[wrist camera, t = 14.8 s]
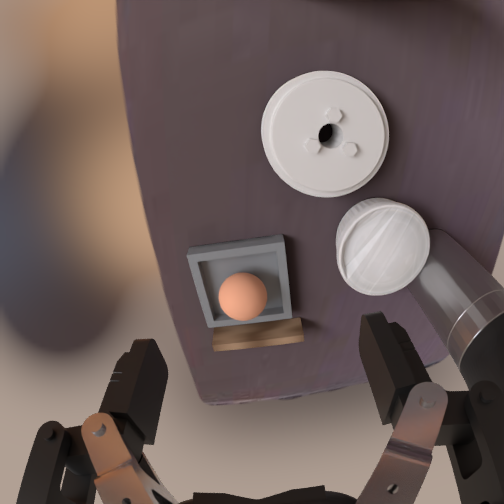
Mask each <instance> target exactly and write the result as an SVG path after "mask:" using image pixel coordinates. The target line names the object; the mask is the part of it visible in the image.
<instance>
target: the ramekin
mask: <svg viewBox="0 0 504 504" xmlns="http://www.w3.org/2000/svg"><path fill="white" fill-rule="evenodd" d="M336 248H337V263H338V267H339V270H340V273H341V275H342V277H343V278H344V280H345V281H346V282H347V284H348V285H350V286H351V287H352V288H353V289H355V290H356V291H358V292H360V293H363V294H367V295H386V294H390V293H393V292H395V291H398V290H400V289H402V288H403V287H405V286H406V285H408V284H409V283H410V282H411V281H412V280H413V279H414V278H415V277H416V276H417V275H418V274H419V272H420V271H421V270H422V268H423V266H424V264H425V263H426V260H427V257H428V255H429V250H430V236H429V231H428V228H427V225H426V223H425V222H424V220H423V218H422V217H421V216H420V215H419V214H418V213H417V212H416V211H415V210H414V209H412V208H411V207H409V206H407V205H405V204H402V203H399V202H395V201H392V200H389V199H385V198H371V199H366V200H364V201H361V202H359V203H357V204H356V205H354V206H353V207H352V208H351V209H349V210H348V212H347V213H346V214H345V215H344V217H343V218H342V220H341V222H340V223H339V227H338V229H337V234H336Z"/></svg>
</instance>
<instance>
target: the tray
mask: <svg viewBox="0 0 504 504" xmlns="http://www.w3.org/2000/svg"><path fill="white" fill-rule="evenodd" d="M187 258H188V262H189V265H190V269H191V272H192V276H193V279H194V283H195V286H196V289H197V293H198V296H199V299H200V303H201V306H202V309H203V312H204V316H205V319H206V322H207V325H208V328H211V327H221V326H231V325H240V324H249V323H258V322H266V321H274V320H281V319H289V318H292V311H291V300H290V290H289V281H288V271H287V262H286V252H285V243H284V238H283V234H280V235H272V236H265V237H258V238H250V239H243V240H236V241H229V242H222V243H215V244H208V245H201V246H194V247H189V250H188V253H187ZM241 272H245V273H250V274H253V275H255V276H256V277H258V278H259V279H260V280H261V281H262V282H263V284H264V286H265V288H266V291H267V302H266V306H265V308H264V310H263V311H262V312H261V313H260V314H259V315H258V316H257V317H255V318H253V319H251V320H247V321H239V320H235V319H233V318H231V317H229V316H228V315H227V314H226V313H225V312H224V311H223V310H222V308H221V306H220V303H219V290H220V287H221V285H222V283H223V282H224V281H225V280H226V279H227V278H228V277H229V276H231V275H233V274H236V273H241Z"/></svg>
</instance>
